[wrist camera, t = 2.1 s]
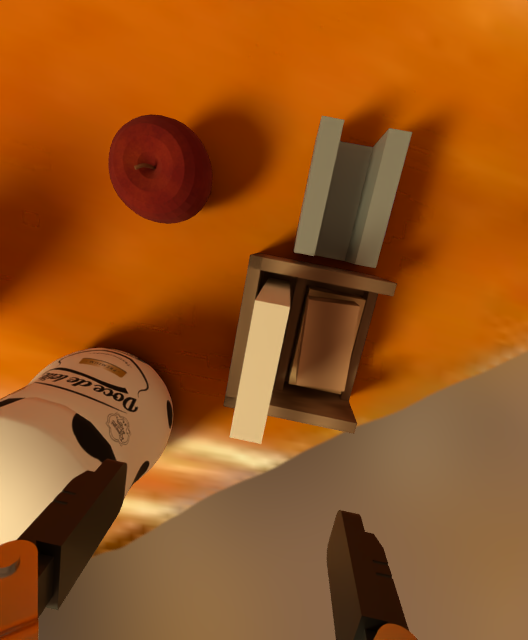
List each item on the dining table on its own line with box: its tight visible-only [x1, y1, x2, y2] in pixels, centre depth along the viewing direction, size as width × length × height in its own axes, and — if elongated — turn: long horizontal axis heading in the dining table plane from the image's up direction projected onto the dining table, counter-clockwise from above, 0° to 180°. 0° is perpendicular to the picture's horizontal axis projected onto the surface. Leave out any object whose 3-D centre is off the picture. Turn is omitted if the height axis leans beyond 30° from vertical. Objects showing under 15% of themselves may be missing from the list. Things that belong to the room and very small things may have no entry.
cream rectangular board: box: [230, 278, 290, 444], centre depth 32 cm, size 2×11×16 cm, turn 169°
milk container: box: [0, 348, 173, 545], centre depth 36 cm, size 17×17×18 cm
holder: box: [293, 116, 412, 268], centre depth 34 cm, size 8×12×7 cm, turn 169°
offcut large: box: [289, 285, 366, 394], centre depth 38 cm, size 6×11×4 cm, turn 169°
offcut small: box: [296, 295, 360, 391], centre depth 35 cm, size 5×9×3 cm, turn 173°
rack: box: [224, 253, 397, 433], centre depth 37 cm, size 14×16×8 cm
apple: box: [109, 115, 212, 224], centre depth 33 cm, size 10×10×10 cm
